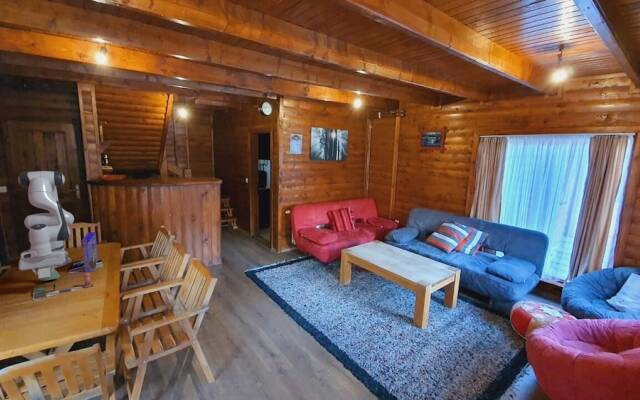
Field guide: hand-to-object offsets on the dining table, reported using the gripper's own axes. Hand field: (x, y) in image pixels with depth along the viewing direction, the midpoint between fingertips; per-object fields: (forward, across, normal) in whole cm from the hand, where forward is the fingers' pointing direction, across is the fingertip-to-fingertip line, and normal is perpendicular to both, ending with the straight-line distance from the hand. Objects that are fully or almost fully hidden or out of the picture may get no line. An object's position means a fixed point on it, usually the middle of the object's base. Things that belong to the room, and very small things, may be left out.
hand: (44, 273), depth 173 cm
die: (+2, 0, 0) cm, 2 cm away
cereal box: (+12, -24, -26) cm, 37 cm away
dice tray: (+11, 0, 0) cm, 11 cm away
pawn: (+11, -19, +8) cm, 24 cm away
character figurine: (+12, -1, -14) cm, 18 cm away
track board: (+11, -8, +8) cm, 16 cm away
